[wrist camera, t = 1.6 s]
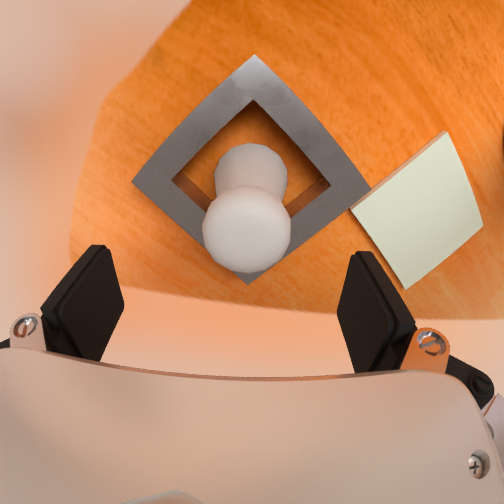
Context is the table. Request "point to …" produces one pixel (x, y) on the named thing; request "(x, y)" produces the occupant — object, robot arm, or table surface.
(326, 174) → the grey square frame
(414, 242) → the mat
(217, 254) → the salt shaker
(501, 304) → the table surface
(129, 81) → the table surface
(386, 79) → the table surface
